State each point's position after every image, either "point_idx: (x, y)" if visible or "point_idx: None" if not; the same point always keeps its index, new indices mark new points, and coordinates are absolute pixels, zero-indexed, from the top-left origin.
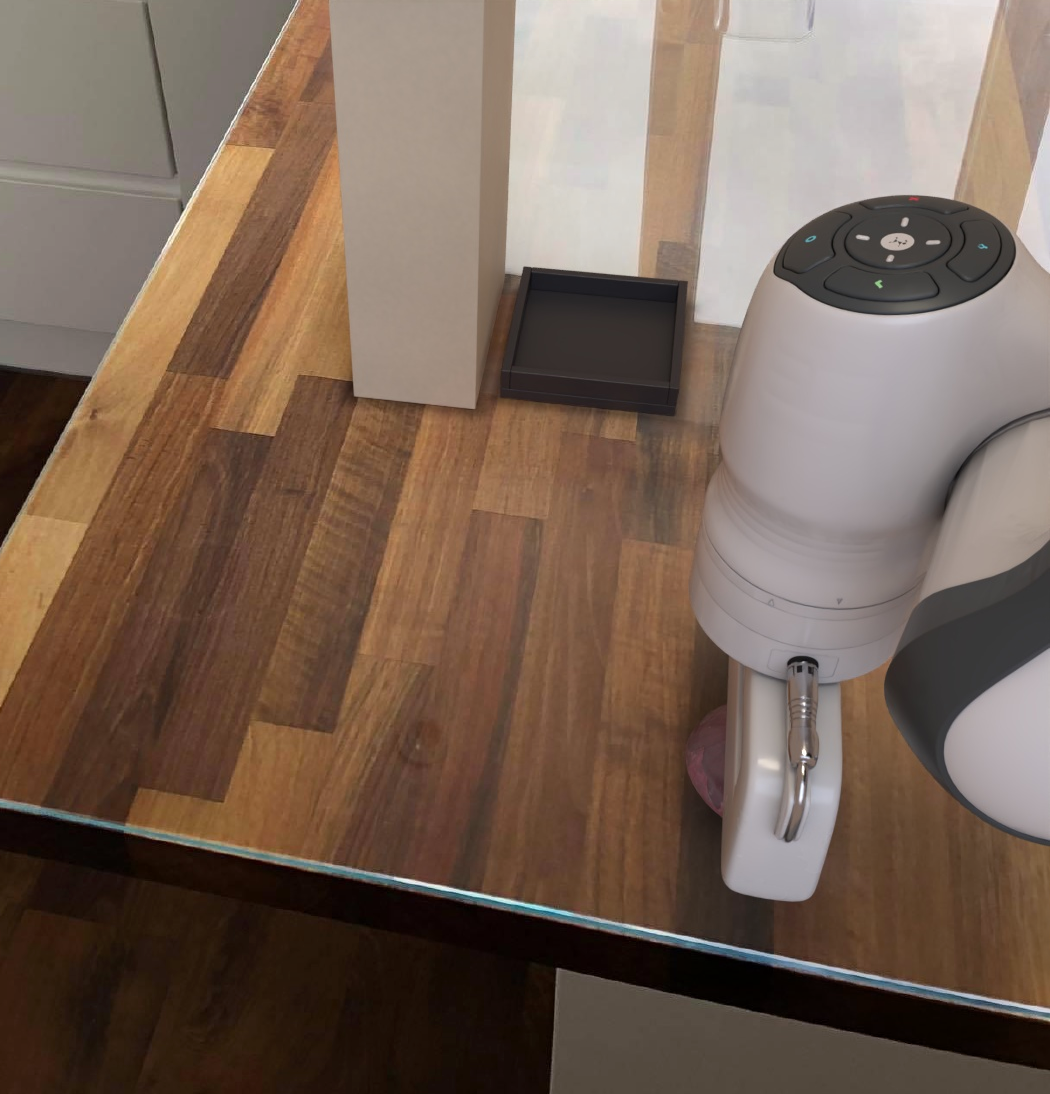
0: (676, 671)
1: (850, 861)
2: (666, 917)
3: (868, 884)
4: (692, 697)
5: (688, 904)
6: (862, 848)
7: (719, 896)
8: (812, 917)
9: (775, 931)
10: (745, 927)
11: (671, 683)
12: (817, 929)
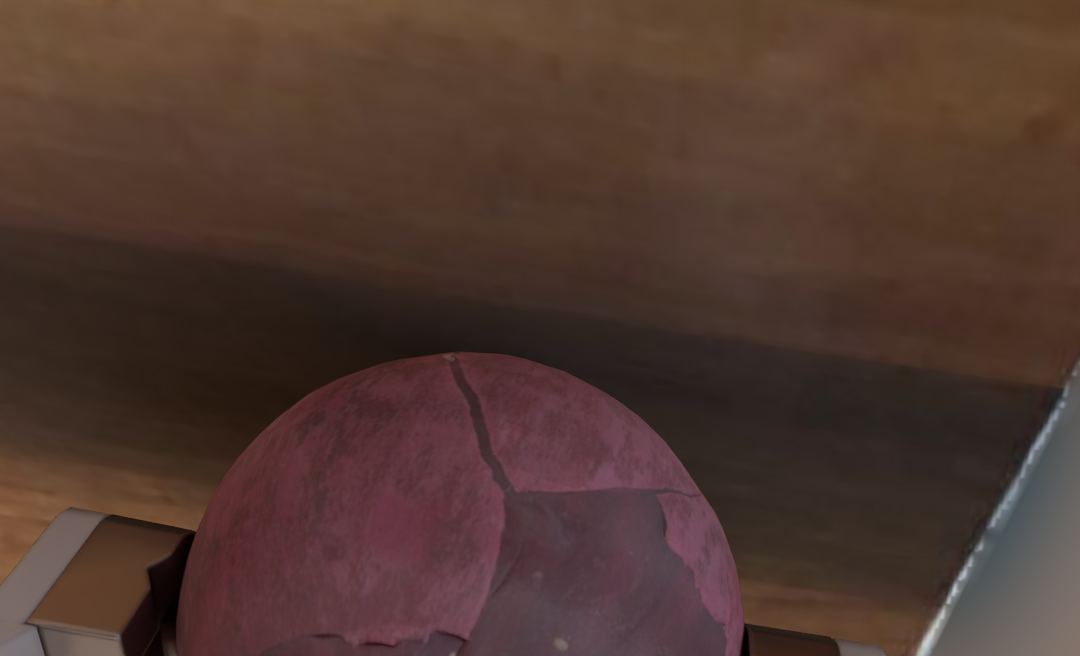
0: (45, 490)
1: (717, 76)
2: (887, 618)
3: (827, 21)
4: (125, 465)
5: (852, 568)
6: (656, 17)
7: (832, 496)
8: (948, 251)
9: (982, 371)
10: (952, 448)
11: (94, 507)
12: (1000, 243)
